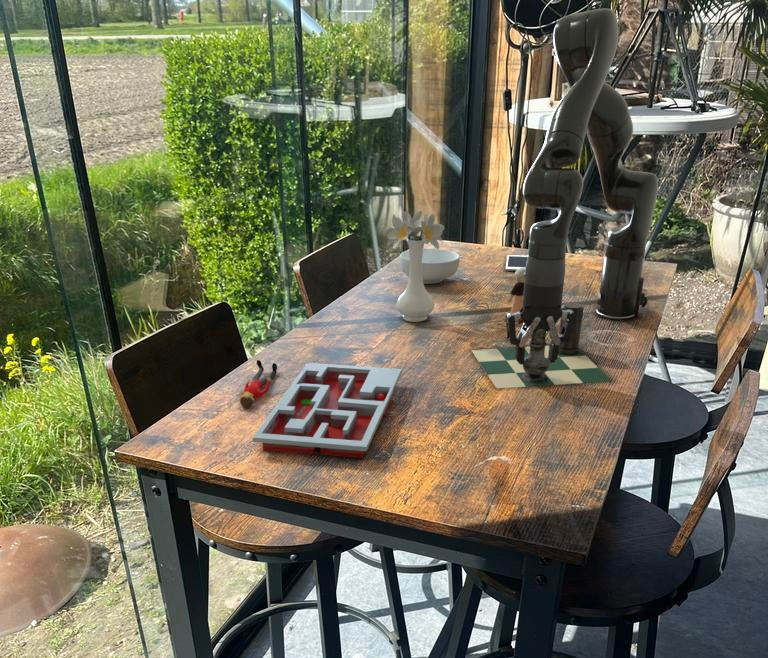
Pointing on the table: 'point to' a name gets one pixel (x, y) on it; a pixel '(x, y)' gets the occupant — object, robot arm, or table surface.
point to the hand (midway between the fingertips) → (536, 362)
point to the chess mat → (562, 371)
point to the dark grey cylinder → (573, 344)
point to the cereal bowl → (433, 264)
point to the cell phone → (515, 262)
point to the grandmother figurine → (517, 292)
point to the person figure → (256, 386)
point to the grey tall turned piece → (536, 359)
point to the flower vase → (415, 261)
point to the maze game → (330, 410)
